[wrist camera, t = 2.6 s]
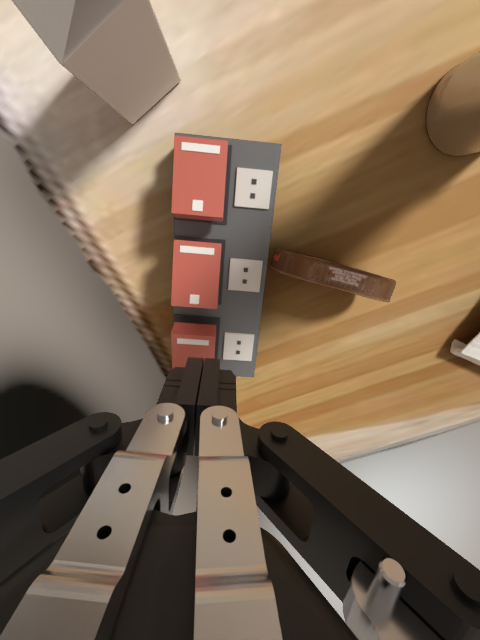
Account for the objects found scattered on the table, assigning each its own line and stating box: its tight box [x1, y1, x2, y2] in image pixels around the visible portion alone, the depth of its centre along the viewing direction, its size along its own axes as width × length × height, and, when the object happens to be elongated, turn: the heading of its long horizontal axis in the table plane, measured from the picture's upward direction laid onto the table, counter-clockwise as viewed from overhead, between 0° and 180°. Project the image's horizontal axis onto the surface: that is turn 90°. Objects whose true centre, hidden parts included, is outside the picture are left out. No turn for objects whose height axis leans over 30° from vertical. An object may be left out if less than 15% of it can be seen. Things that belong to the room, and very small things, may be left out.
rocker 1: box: [171, 135, 228, 222], centre depth 29 cm, size 5×7×2 cm
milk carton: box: [12, 0, 181, 124], centre depth 22 cm, size 7×7×19 cm
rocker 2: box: [171, 240, 222, 309], centre depth 33 cm, size 5×7×2 cm
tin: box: [270, 249, 396, 302], centre depth 36 cm, size 15×3×8 cm, turn 75°
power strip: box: [173, 133, 282, 377], centre depth 37 cm, size 11×28×5 cm, turn 175°
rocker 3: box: [171, 322, 216, 369], centre depth 36 cm, size 5×7×2 cm
